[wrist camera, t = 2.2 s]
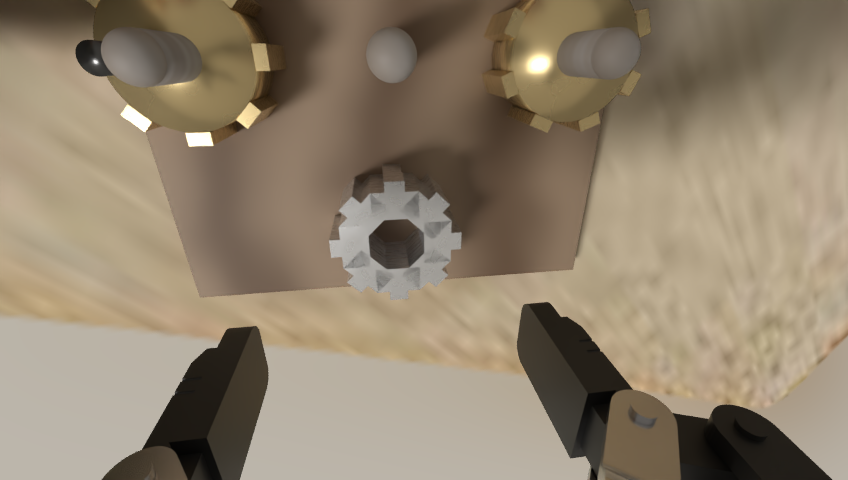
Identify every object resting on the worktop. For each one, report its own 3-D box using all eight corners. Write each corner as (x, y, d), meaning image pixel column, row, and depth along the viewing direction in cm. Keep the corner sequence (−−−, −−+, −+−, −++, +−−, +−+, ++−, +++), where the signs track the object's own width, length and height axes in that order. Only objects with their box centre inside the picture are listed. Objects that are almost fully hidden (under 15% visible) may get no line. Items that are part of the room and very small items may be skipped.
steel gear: (450, 161, 19) (463, 178, 17) (448, 265, 22) (459, 294, 19) (328, 166, 19) (321, 184, 16) (341, 273, 21) (337, 304, 19)
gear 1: (271, -29, 15) (228, -66, 10) (296, 130, 18) (270, 154, 13) (103, -32, 14) (-19, -72, 10) (156, 134, 17) (79, 161, 13)
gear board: (620, -43, 17) (776, -106, 11) (565, 261, 24) (638, 338, 18) (100, -54, 15) (-121, -145, 8) (207, 287, 22) (135, 387, 15)
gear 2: (595, -51, 16) (639, -73, 13) (617, 91, 19) (658, 97, 16) (462, 13, 16) (479, 4, 14) (503, 143, 19) (524, 156, 17)
